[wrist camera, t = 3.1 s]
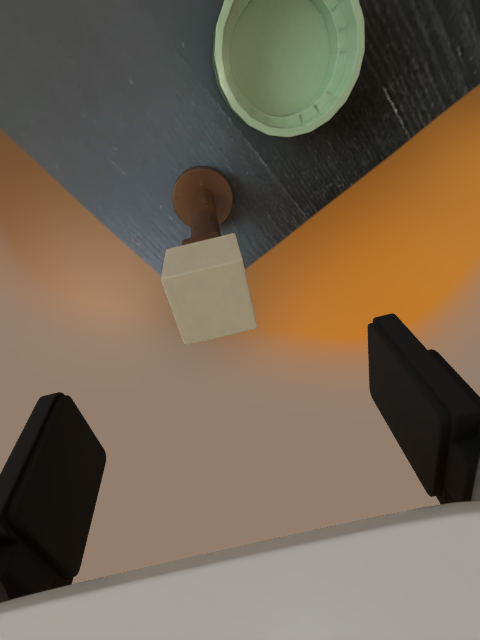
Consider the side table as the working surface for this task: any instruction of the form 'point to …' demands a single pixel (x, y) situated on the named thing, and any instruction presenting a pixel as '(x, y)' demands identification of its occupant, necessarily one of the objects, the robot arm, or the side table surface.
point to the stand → (202, 202)
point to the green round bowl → (287, 61)
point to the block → (208, 289)
